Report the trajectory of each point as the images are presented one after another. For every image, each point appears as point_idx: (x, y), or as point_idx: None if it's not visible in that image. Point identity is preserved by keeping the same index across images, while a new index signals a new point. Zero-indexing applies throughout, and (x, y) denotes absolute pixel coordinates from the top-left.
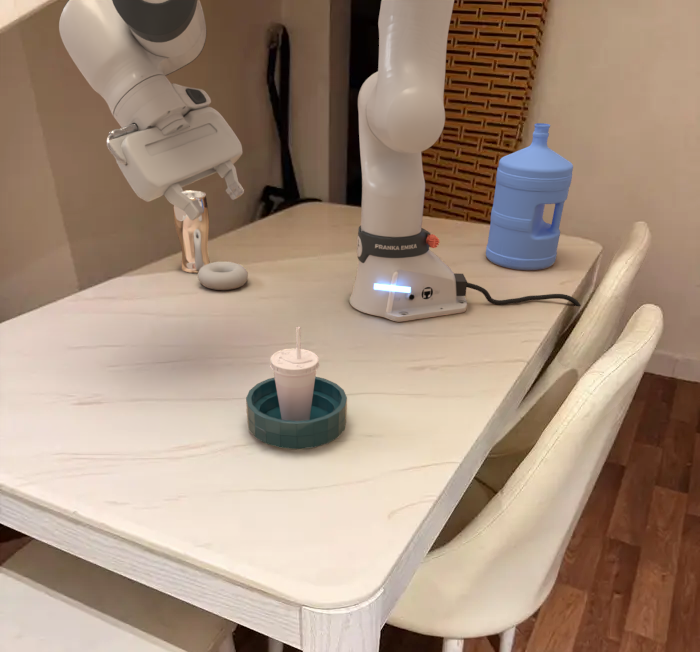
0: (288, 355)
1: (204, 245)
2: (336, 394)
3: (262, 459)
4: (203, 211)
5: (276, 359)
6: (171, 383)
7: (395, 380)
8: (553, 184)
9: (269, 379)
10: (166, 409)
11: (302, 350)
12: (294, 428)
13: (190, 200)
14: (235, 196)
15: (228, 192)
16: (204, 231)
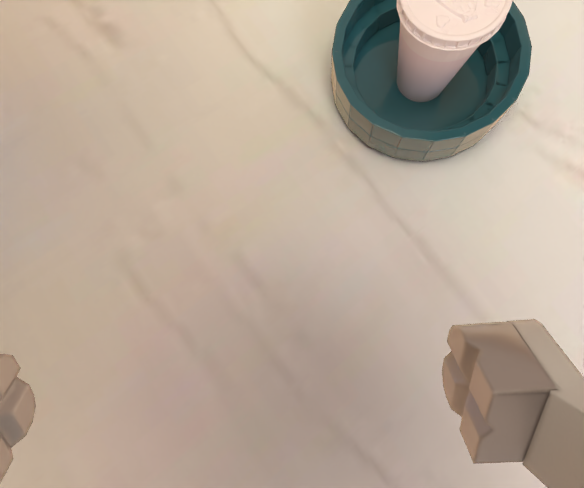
0: (458, 2)
1: None
2: (352, 21)
3: (536, 65)
4: (451, 328)
5: (484, 18)
6: (439, 381)
7: (175, 40)
8: None
9: (404, 132)
10: (524, 311)
11: (408, 2)
12: None
13: (578, 397)
14: (16, 385)
15: (3, 456)
16: None
